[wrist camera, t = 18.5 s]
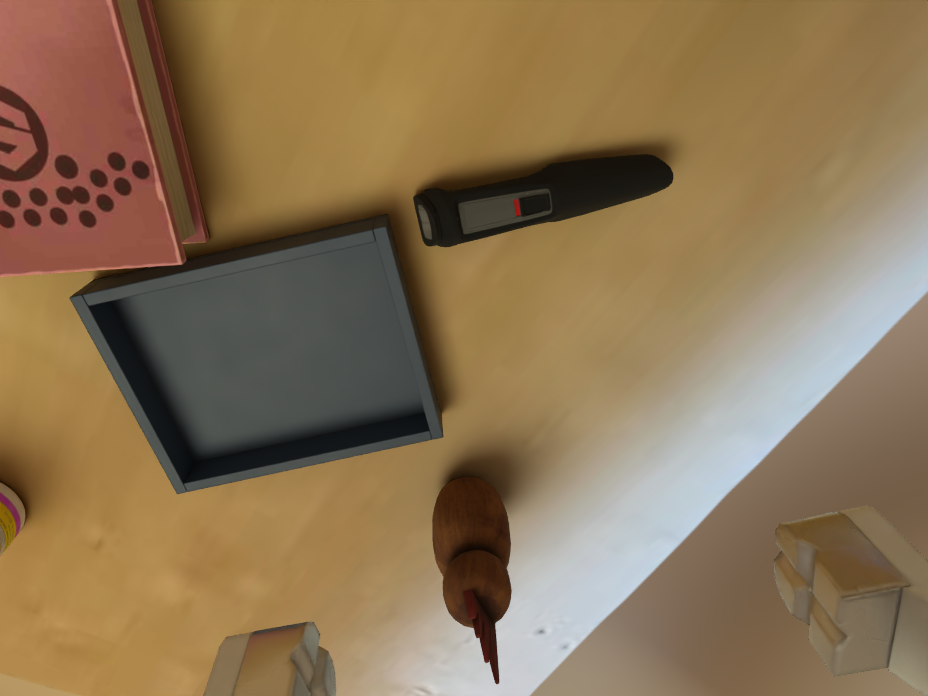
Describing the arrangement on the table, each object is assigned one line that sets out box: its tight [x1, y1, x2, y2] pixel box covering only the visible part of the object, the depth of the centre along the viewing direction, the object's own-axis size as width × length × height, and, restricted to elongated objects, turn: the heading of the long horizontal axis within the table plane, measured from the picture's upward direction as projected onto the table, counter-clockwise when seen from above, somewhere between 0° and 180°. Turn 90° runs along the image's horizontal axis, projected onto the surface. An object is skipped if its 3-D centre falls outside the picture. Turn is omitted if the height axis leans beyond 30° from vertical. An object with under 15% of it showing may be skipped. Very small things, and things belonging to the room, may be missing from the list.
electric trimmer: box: [413, 154, 673, 247], centre depth 37 cm, size 4×16×3 cm, turn 100°
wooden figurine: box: [433, 477, 511, 684], centre depth 43 cm, size 7×6×15 cm
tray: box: [70, 214, 443, 494], centre depth 41 cm, size 20×16×3 cm
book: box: [0, 0, 209, 277], centre depth 33 cm, size 14×15×5 cm
